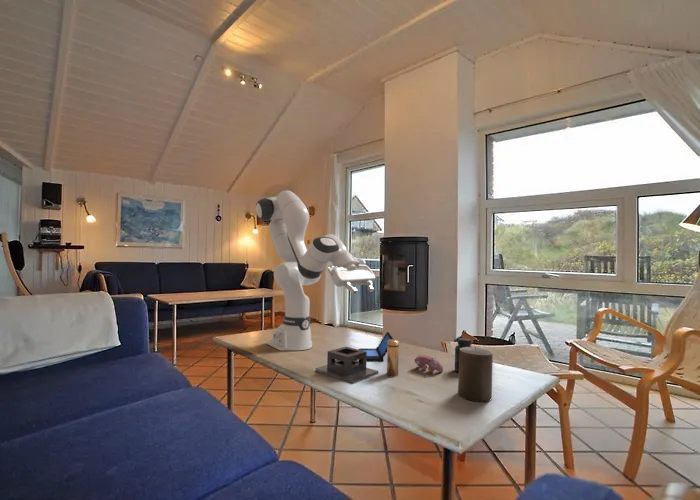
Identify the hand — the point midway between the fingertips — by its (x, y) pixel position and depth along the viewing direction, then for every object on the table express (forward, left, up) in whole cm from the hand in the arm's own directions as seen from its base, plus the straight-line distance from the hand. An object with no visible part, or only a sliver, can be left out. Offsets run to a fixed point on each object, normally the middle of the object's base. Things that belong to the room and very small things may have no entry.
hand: (363, 291), depth 132 cm
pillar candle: (+42, +3, -29) cm, 51 cm away
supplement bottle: (+30, +23, -29) cm, 48 cm away
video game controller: (+20, +14, -29) cm, 38 cm away
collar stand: (0, -9, -29) cm, 30 cm away
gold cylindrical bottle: (+13, +1, -29) cm, 31 cm away
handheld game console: (-5, +15, -29) cm, 33 cm away
